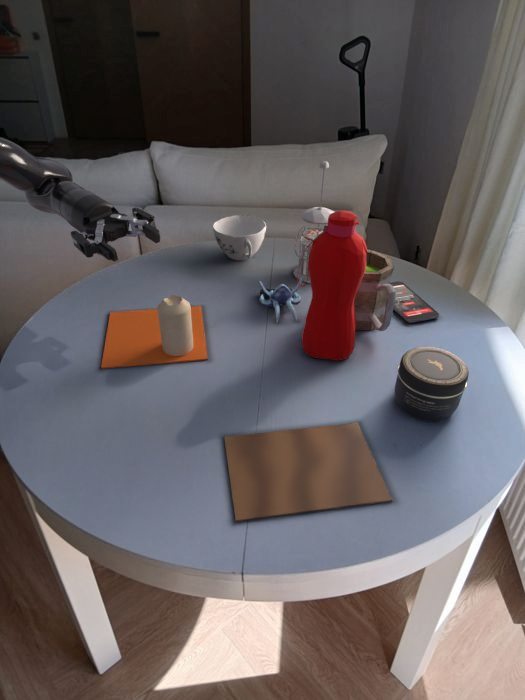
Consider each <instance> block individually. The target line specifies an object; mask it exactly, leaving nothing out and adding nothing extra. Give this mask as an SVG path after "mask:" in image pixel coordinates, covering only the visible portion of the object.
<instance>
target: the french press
mask: <svg viewBox="0 0 525 700" xmlns="http://www.w3.org/2000/svg"><path fill="white" fill-rule="evenodd" d="M319 168H320V169H323V170H322V181H321V190H320V203H319V206H315V207H309V208H308V209H306V210H304V211H302V212H301V214H300V218H301V219H302V220H303V221H304V222H306V223H309V224H312V225H317V226H318V227H315V226H314V227H308V228H306V225H303V226H302V227H300V229H299V230H298V232H297V234H296V237H295V241H294V253H295V256H296V257H297V258H298V266H297V267H296V268H294V270H293V275H294V277H295V278H296V279H297V274H298V281H300V279H301V278H302V277H303V279H302V282H304V283H306V282H307V284H311V280H310V273H309V275H308V261H309V253H310V251H311V250H310V249H312V247H311V246H312V244H310V243H311V242H312V241H313V240H314V238H315V237H317V236H318V235H319V234H320V233H322V232H323V230H324V227H320V225H328V218H329V215H330V214H331V213H334V212H335V211H334V210H332V209H329V208H327V207H324V206H322V199H323V189H324V178H325V169H329V168H330V164H329V162H328V161H327V160H323V161H321V162H320V163H319ZM300 232H301V237H300V239H299V251H298V252H299V253H297V241H298V237H299V235H300ZM304 241H306V242H307V243H306V242H304ZM308 242H309V243H308ZM312 243H313V242H312ZM309 244H310V245H309ZM308 245H309V246H308ZM307 246H308V247H307ZM306 247H307V249H306ZM305 249H306V251H305ZM304 251H305V253H304ZM303 254H304V255H303ZM302 256H303V258H302ZM301 259H302V261H301ZM300 262H301V264H300ZM299 265H300V267H299ZM298 269H299V271H298ZM307 278H308V281H307Z"/></svg>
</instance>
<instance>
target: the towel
mask: <svg viewBox="0 0 525 700" xmlns="http://www.w3.org/2000/svg"><path fill="white" fill-rule="evenodd" d="M190 308H191V320H192V333H193V349H192V350H191V352H189V353H188V354H185V355H182V356H171V355H168V354H166V353H165V352H164V351H163V348H162V341H161V333H160V325H159V317H158V309H157V308H154V309H153V308H151V309H136V310H121V311H110V312H109V316H108V324H107V329H106V335H105V342H104V347H103V354H102V359H101V365H100V369H104V370H105V369H113V368H114V369H115V368H126V367H139V366H151V365H162V364H174V363H184V362H185V363H187V362H199V361H200V362H201V361H208V351H207V341H206V335H205V326H204V316H203V307H202V305H196V306H195V305H194V306H190Z"/></svg>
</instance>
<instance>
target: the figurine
mask: <svg viewBox="0 0 525 700" xmlns="http://www.w3.org/2000/svg"><path fill="white" fill-rule="evenodd" d="M302 279H303V277H302V278H301V279H300V280H298V283H299V284H300V285H302V282H303V281H302ZM258 283H259V285H260V288H261V289H260V290H259V300H258V301H259V302H260V304H261V306H263V307H266V308H268V307H272V306H273V308H274V316H275V323H276V324H277V323H278V321H279V318H280V315H281V313H280V312H281V308H280V306H283V307H284V306H285V307H286V308H287V309H288V311H289V312H290V314H291V316H292V318H293V319H294V320H295V321H296V322H297V312H296V309H295V307H294V305H295V306H297V305H299V304H300V303H301V301H302V298H301V296H300V295H299V293H297V291H298V290H299V288H300V287H301V286H299V285H298V284H297V285H296V286H295V287H294V288H291V287H288V286H287V285H286V284H284V283H281V284H279V285H278V286H277V287H276V288H265V286H264V284H263V282H261V280H259V282H258Z"/></svg>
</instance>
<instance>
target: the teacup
mask: <svg viewBox="0 0 525 700" xmlns="http://www.w3.org/2000/svg"><path fill="white" fill-rule="evenodd" d="M212 230H213V234H214V238H215V240H216V244H217V246H219V248H220V250H221V251H222V252H223V253H224V254H225V255H227V257H228V258H230V259H232V260H234V261H245V260H249V259H250V258H252V257H253V256H254V255H255V254H256V253H257V252H258V251H259V250H260V248H261V247H262V244H263V242H264V240H265V236H266V233H267V232H266V231H267V223H266V222H265V221H264V220H263V219H262V218H259V217H255V216H251V215H244V214H242V215H241V214H239V215H231V216H226V217H222V218H221V219H219V220H217V221H215V222H214V223H213V224H212Z"/></svg>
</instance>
